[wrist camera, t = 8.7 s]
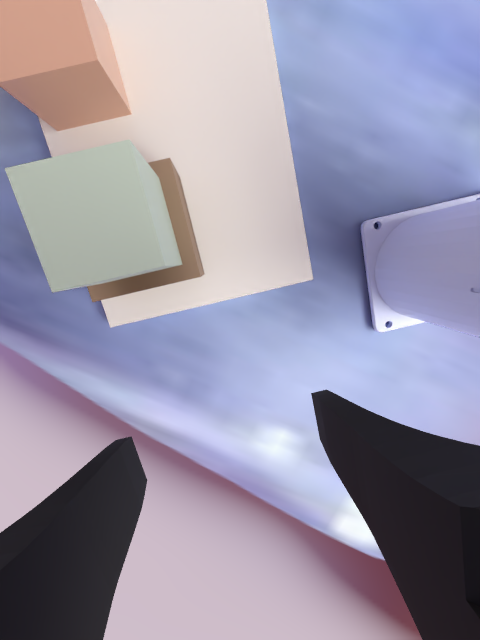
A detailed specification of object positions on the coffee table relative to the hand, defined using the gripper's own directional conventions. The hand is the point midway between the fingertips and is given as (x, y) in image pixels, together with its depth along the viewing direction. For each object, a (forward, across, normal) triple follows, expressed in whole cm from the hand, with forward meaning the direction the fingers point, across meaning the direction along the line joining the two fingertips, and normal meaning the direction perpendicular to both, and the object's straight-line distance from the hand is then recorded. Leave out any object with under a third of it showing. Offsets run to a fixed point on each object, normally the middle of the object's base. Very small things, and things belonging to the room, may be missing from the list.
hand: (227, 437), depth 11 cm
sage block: (+6, +3, -9) cm, 11 cm away
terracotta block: (+9, +4, -18) cm, 20 cm away
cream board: (+10, 0, -13) cm, 16 cm away
